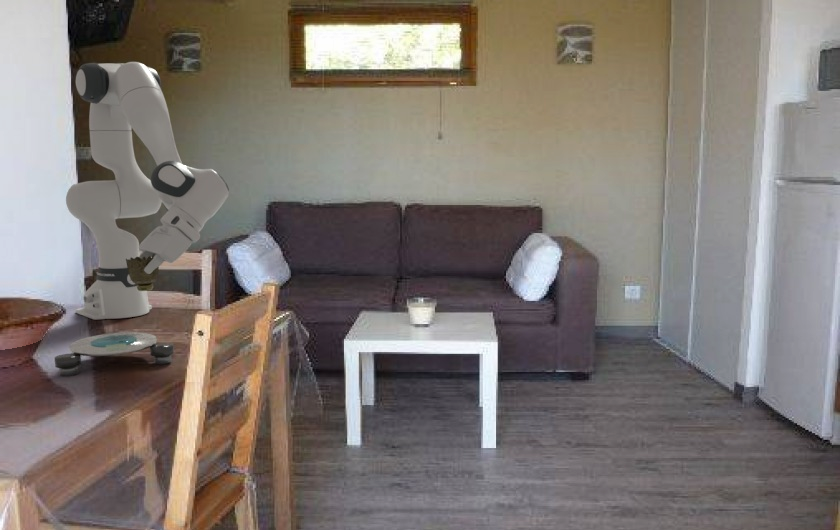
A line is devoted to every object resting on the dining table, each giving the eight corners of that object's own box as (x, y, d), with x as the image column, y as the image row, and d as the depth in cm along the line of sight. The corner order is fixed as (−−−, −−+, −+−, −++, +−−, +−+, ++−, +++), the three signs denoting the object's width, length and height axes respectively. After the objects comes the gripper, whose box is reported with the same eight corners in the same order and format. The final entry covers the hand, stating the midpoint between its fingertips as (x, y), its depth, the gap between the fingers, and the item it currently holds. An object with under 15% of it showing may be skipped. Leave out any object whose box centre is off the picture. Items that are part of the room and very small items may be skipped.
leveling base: (27, 368, 162) (25, 343, 161) (119, 345, 181) (117, 323, 180) (91, 386, 149) (88, 359, 148) (183, 360, 167) (181, 336, 166)
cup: (151, 292, 172) (147, 258, 172) (122, 293, 174) (119, 259, 173) (167, 287, 180) (164, 255, 179) (140, 288, 181) (137, 256, 180)
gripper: (156, 215, 187) (119, 257, 183) (182, 220, 170) (142, 266, 166) (175, 232, 190) (139, 273, 186) (203, 238, 174) (163, 283, 169)
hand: (140, 270), depth 176 cm, fingers closed on cup, 7 cm apart
